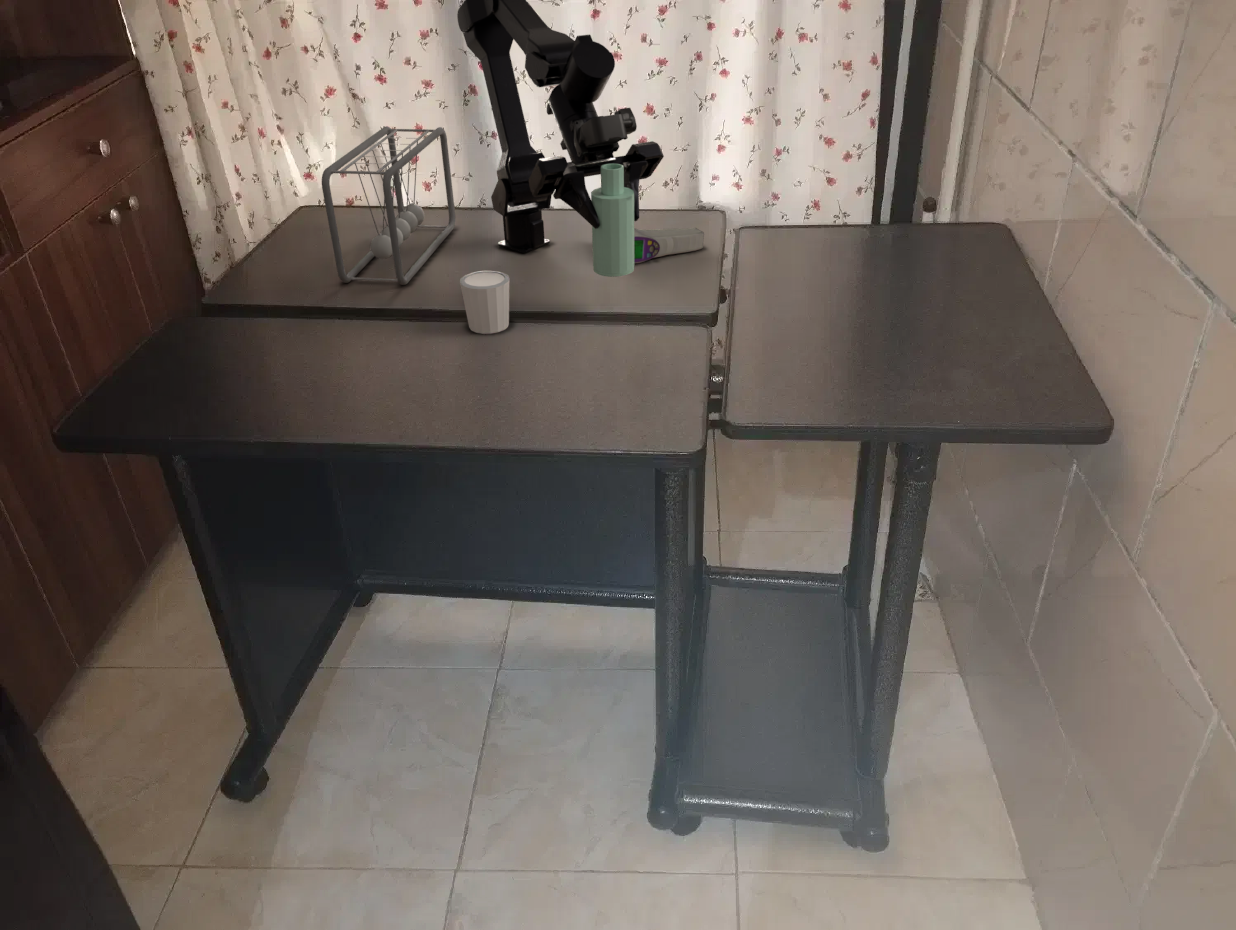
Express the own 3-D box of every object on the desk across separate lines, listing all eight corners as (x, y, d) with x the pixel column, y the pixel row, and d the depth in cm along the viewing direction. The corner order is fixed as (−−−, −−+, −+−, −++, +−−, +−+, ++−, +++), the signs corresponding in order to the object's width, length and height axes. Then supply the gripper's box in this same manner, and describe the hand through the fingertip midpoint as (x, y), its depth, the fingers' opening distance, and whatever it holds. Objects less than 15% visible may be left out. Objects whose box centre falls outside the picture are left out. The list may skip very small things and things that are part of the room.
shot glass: (504, 337, 132) (500, 289, 129) (457, 333, 134) (452, 286, 130) (519, 317, 138) (515, 271, 134) (473, 314, 139) (469, 268, 135)
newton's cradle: (403, 290, 147) (387, 174, 138) (339, 287, 149) (317, 172, 139) (457, 226, 172) (446, 124, 163) (401, 224, 174) (387, 123, 164)
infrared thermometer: (706, 256, 160) (627, 266, 154) (669, 234, 169) (593, 243, 163) (708, 229, 158) (628, 238, 152) (671, 209, 167) (594, 217, 161)
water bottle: (585, 270, 136) (581, 167, 128) (611, 259, 140) (609, 158, 132) (616, 280, 133) (615, 175, 125) (642, 268, 136) (642, 165, 129)
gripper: (532, 96, 122) (573, 204, 120) (657, 80, 130) (698, 182, 128) (512, 145, 133) (549, 246, 130) (629, 128, 140) (667, 223, 138)
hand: (617, 223), depth 131 cm, fingers closed on water bottle, 6 cm apart
